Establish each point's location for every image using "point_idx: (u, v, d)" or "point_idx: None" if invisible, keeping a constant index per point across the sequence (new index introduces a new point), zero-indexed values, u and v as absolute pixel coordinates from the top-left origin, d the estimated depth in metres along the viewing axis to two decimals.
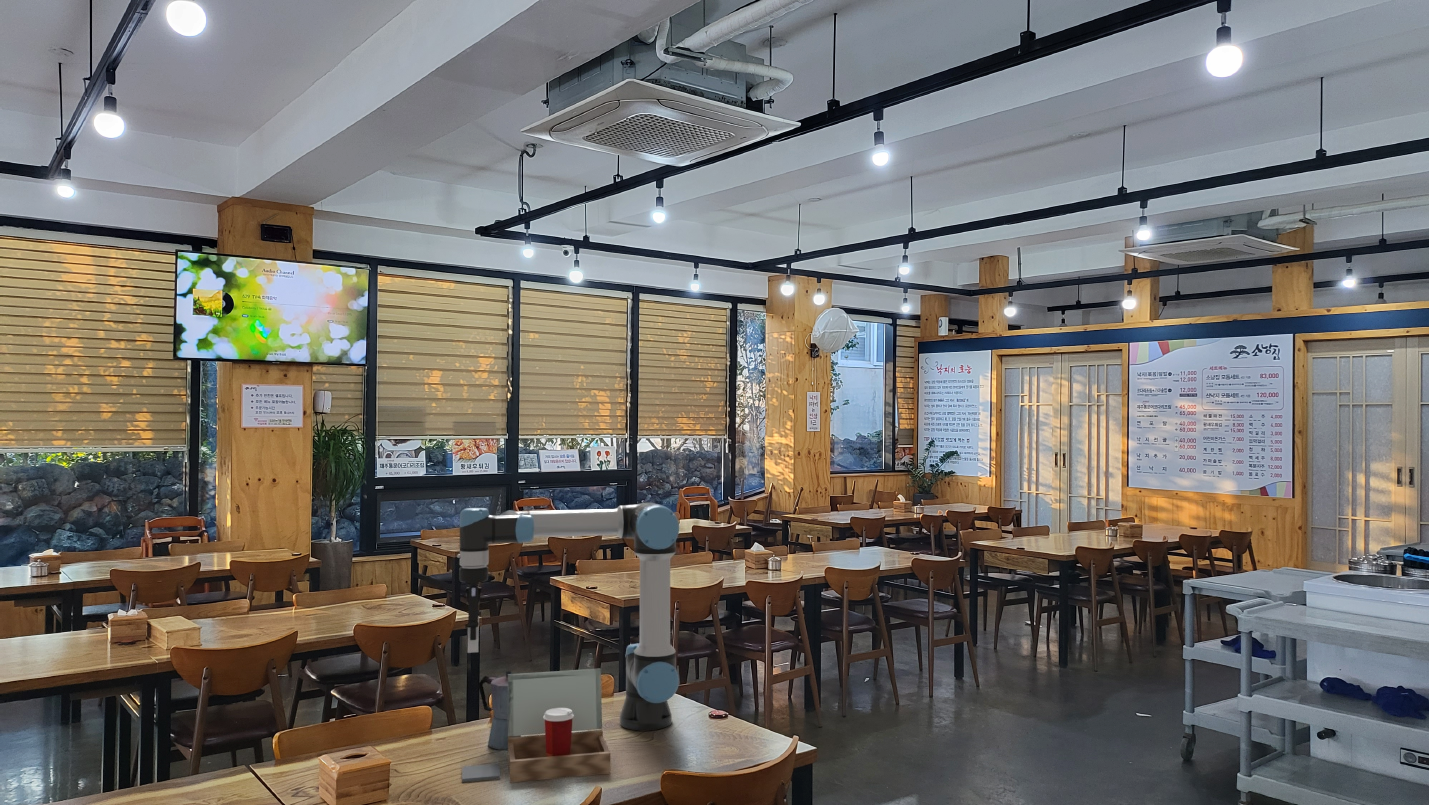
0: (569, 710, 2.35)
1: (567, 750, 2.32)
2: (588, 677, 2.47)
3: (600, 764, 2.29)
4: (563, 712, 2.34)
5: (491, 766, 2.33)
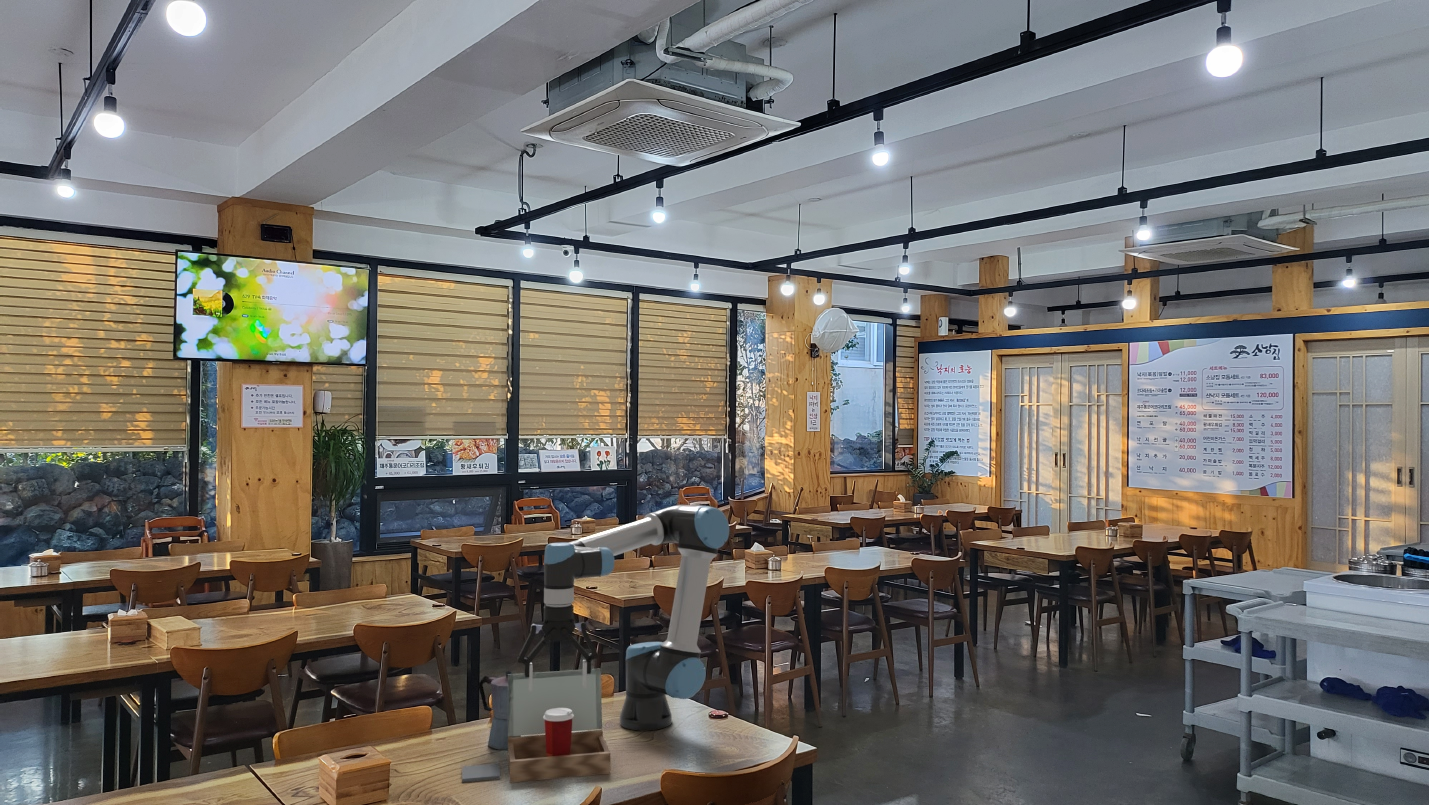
0: (569, 710, 2.35)
1: (567, 750, 2.32)
2: (588, 677, 2.47)
3: (600, 764, 2.29)
4: (563, 712, 2.34)
5: (491, 766, 2.33)
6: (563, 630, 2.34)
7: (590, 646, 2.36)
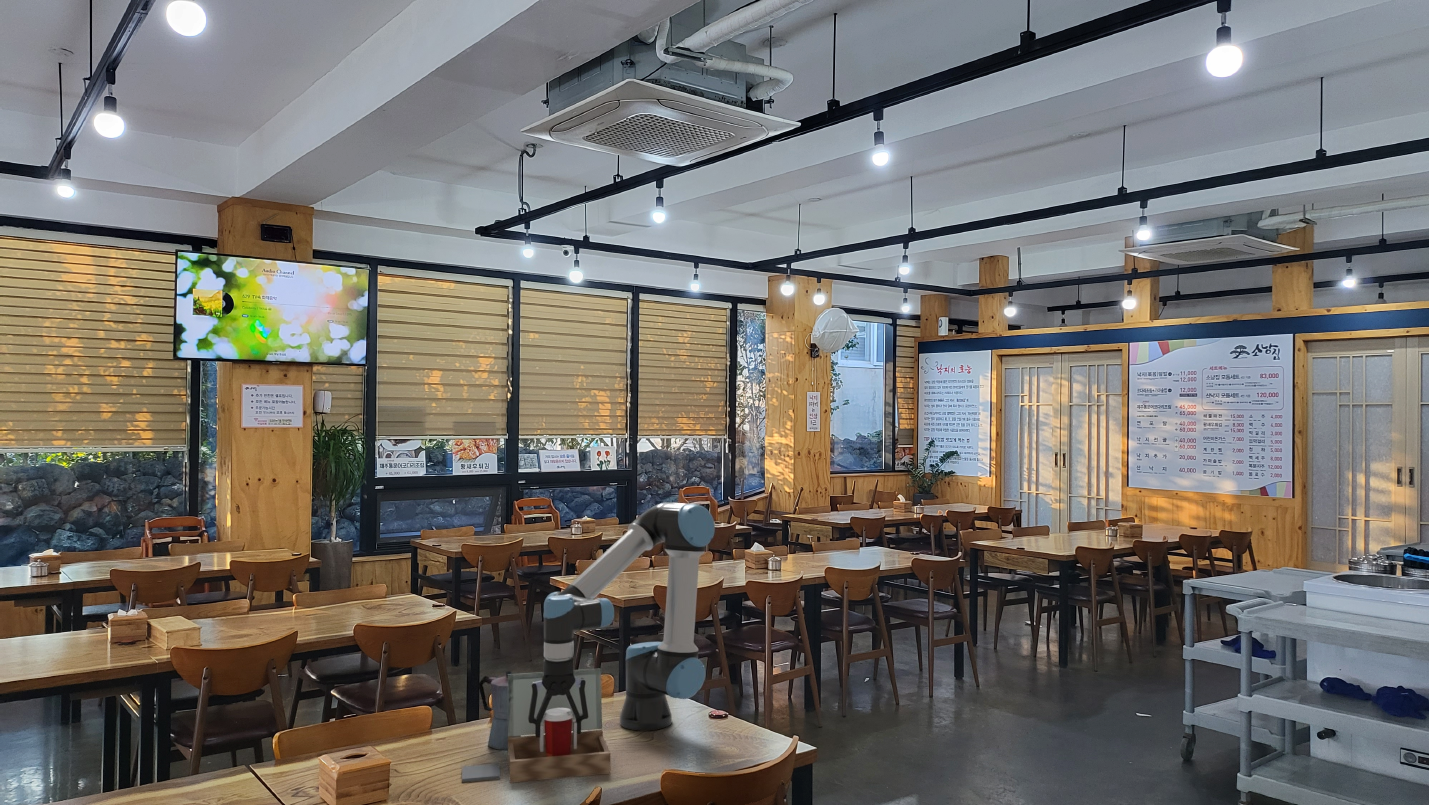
0: (569, 710, 2.35)
1: (567, 750, 2.32)
2: (588, 677, 2.47)
3: (600, 764, 2.29)
4: (563, 712, 2.34)
5: (491, 766, 2.33)
6: (563, 684, 2.33)
7: (583, 705, 2.35)
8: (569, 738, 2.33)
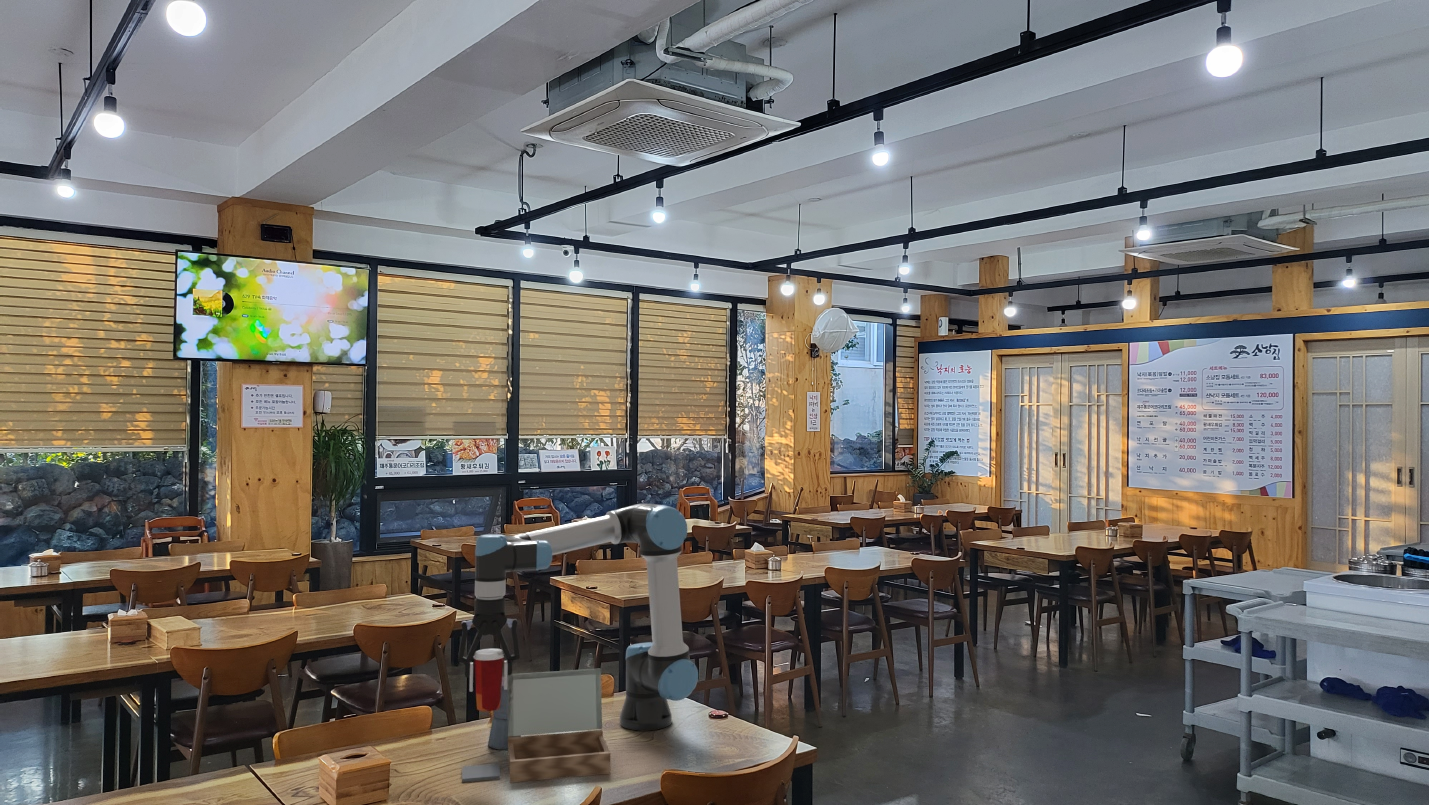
0: (500, 650, 2.31)
1: (497, 690, 2.28)
2: (588, 677, 2.47)
3: (600, 764, 2.29)
4: (493, 652, 2.30)
5: (491, 766, 2.33)
6: (494, 623, 2.29)
7: (515, 645, 2.31)
8: (499, 678, 2.29)
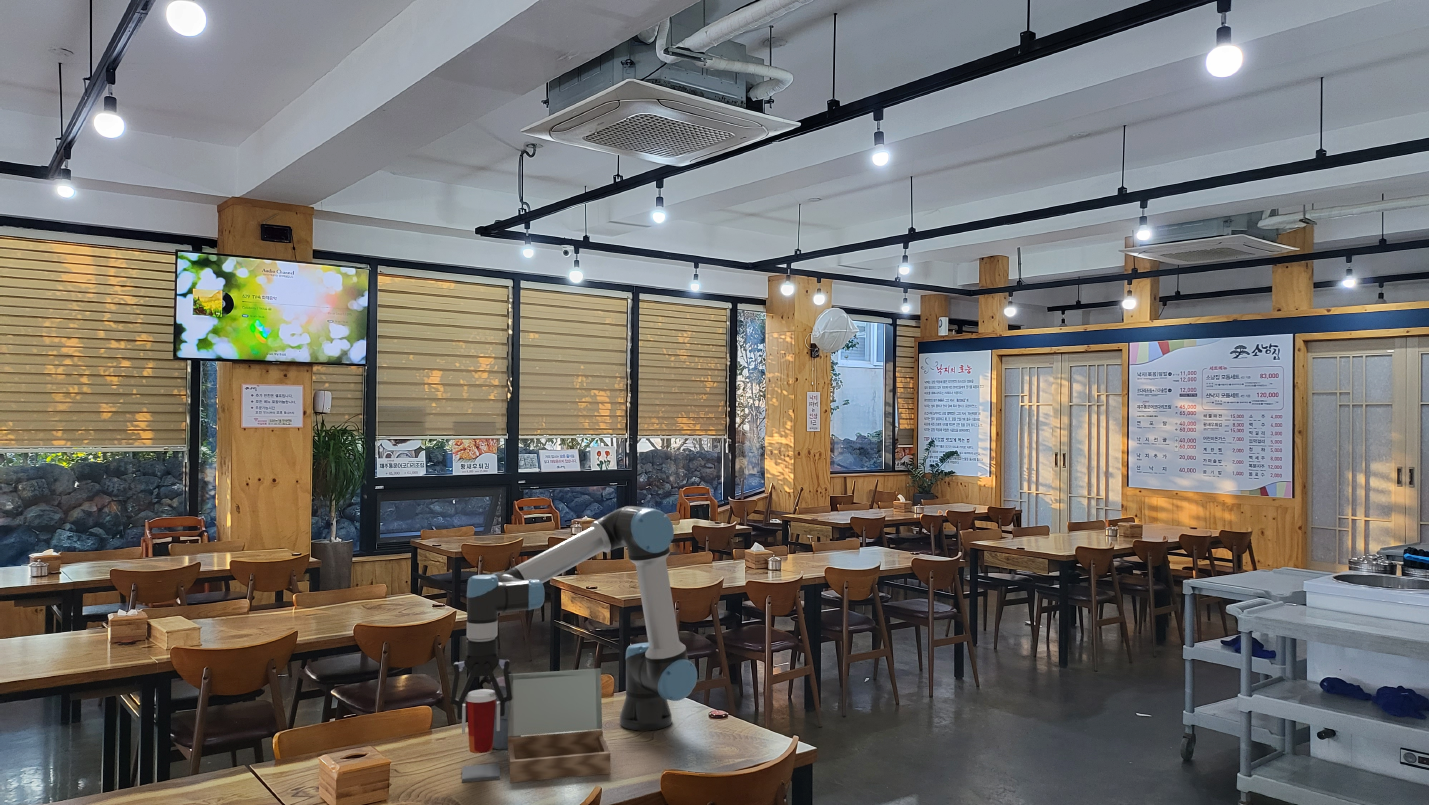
0: (492, 691, 2.31)
1: (489, 732, 2.28)
2: (588, 677, 2.47)
3: (600, 764, 2.29)
4: (485, 693, 2.29)
5: (491, 766, 2.33)
6: (486, 665, 2.29)
7: (507, 686, 2.30)
8: (492, 720, 2.28)
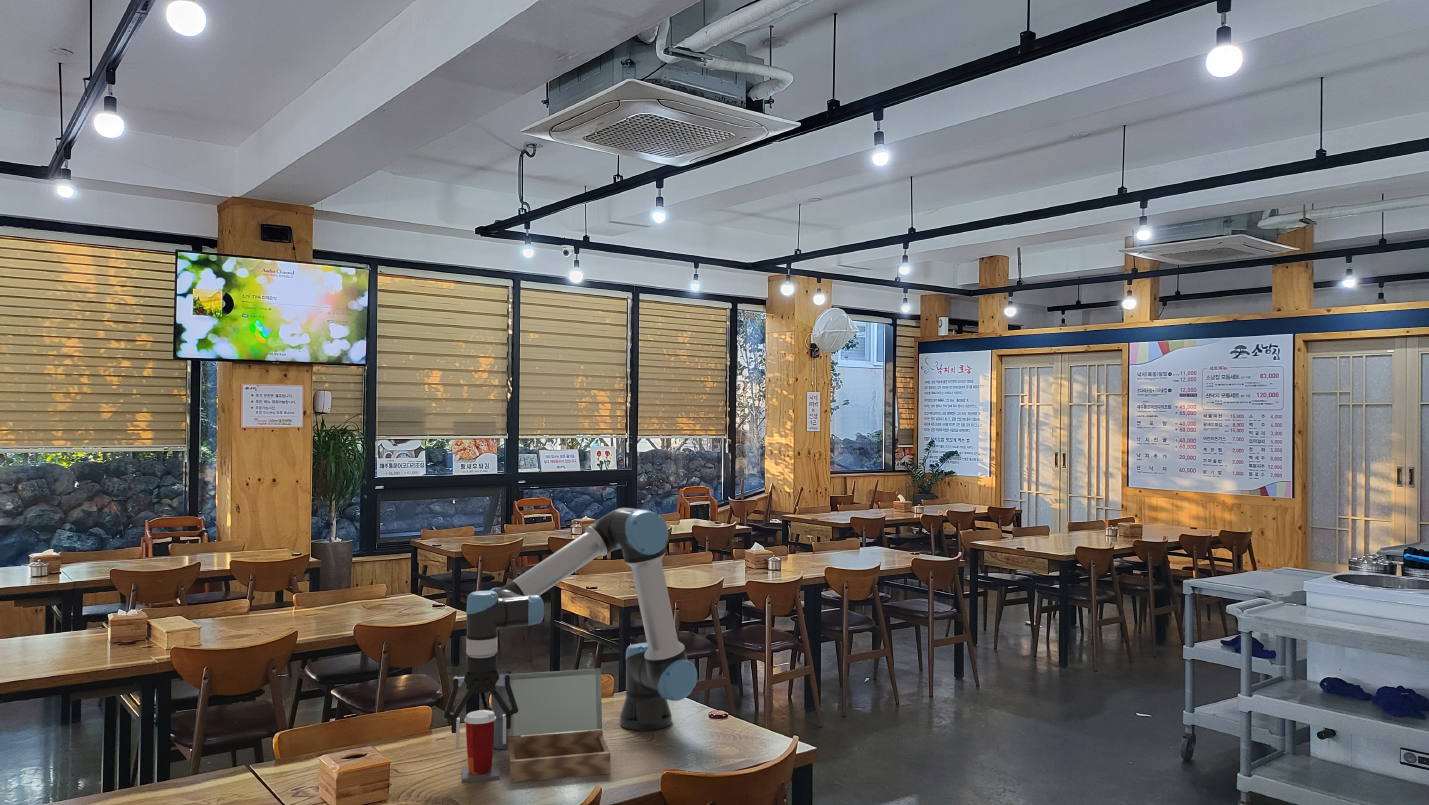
0: (491, 712, 2.31)
1: (488, 753, 2.27)
2: (588, 677, 2.47)
3: (600, 764, 2.29)
4: (484, 714, 2.29)
5: None
6: (486, 681, 2.28)
7: (511, 700, 2.31)
8: (491, 741, 2.28)
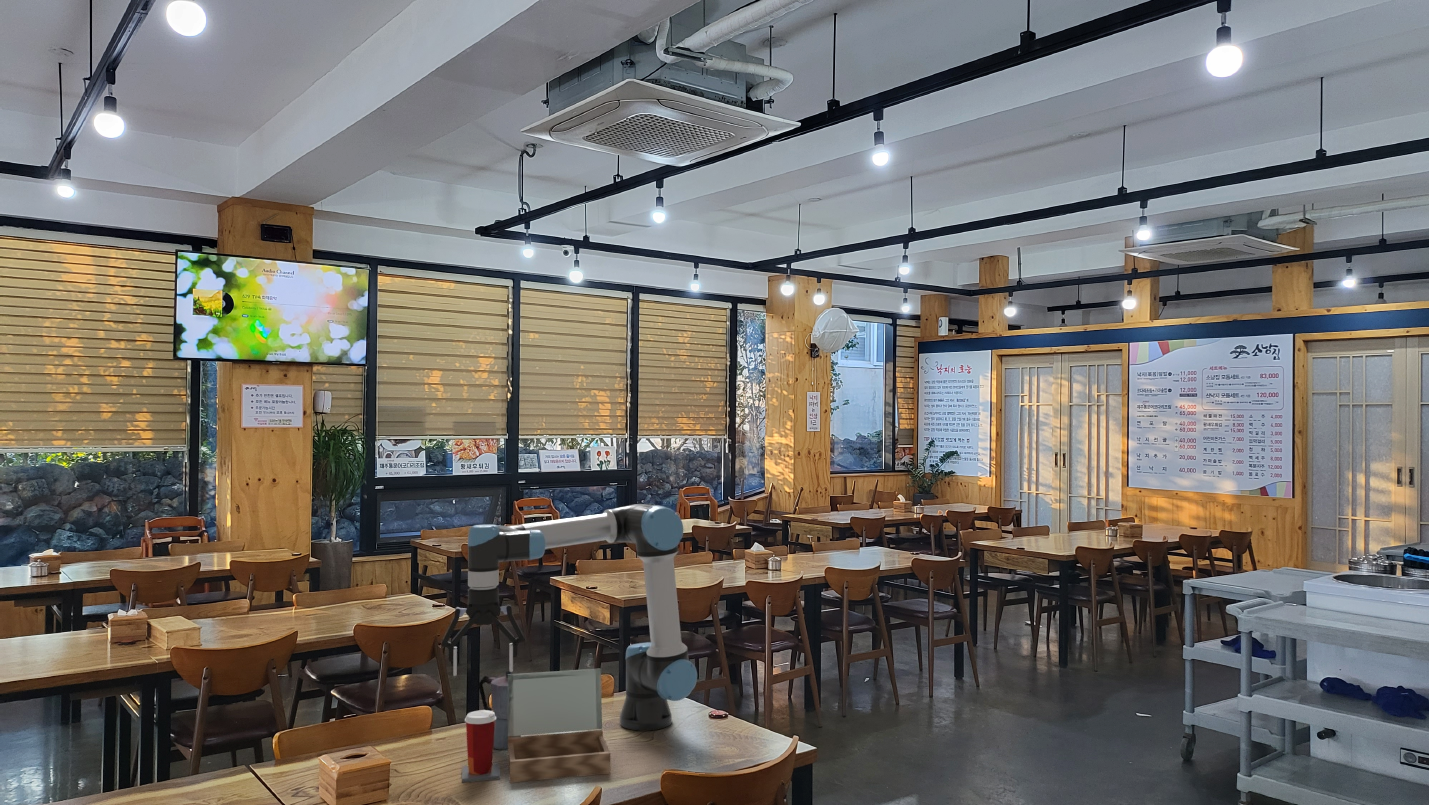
0: (492, 713, 2.31)
1: (488, 753, 2.27)
2: (588, 677, 2.47)
3: (600, 764, 2.29)
4: (485, 715, 2.29)
5: None
6: (488, 613, 2.30)
7: (516, 629, 2.32)
8: (491, 741, 2.28)
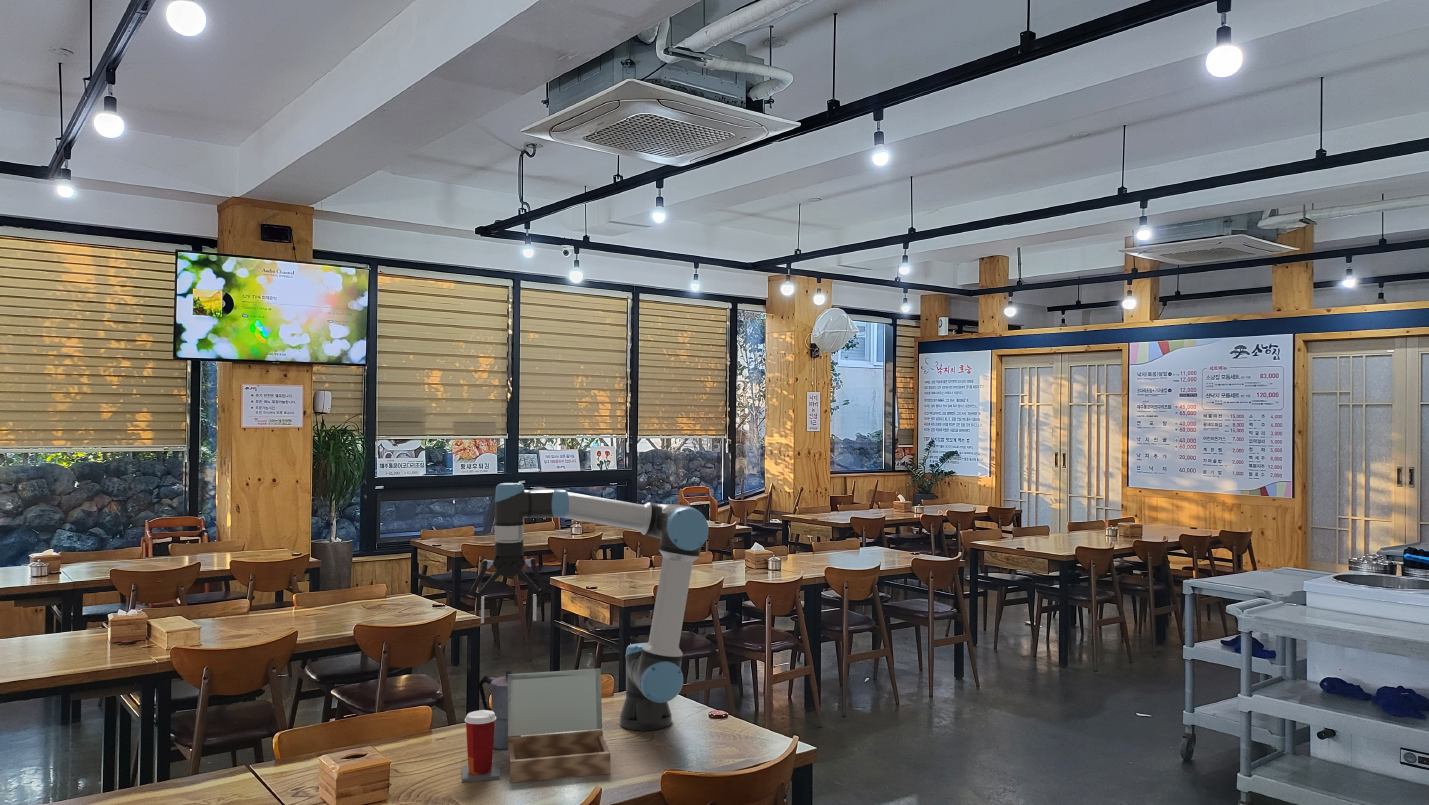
0: (492, 713, 2.31)
1: (488, 753, 2.27)
2: (588, 677, 2.47)
3: (600, 764, 2.29)
4: (485, 715, 2.29)
5: None
6: (513, 565, 2.45)
7: (539, 581, 2.47)
8: (491, 741, 2.28)
